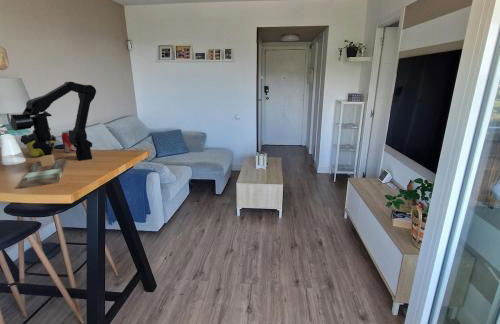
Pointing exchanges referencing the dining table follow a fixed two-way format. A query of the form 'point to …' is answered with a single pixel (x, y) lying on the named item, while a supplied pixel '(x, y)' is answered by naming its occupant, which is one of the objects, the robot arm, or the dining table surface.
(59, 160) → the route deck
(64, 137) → the soda can
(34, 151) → the sculpture
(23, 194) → the dining table surface
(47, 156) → the block
